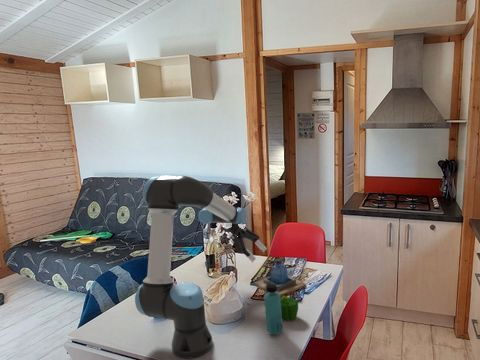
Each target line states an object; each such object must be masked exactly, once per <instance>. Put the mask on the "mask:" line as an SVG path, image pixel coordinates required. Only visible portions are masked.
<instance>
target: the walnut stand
mask: <svg viewBox="0 0 480 360" xmlns="http://www.w3.org/2000/svg"><path fill="white" fill-rule="evenodd" d="M287 276H288V282H285V283H282V284H280V285H276V286H277V291H276V292H277V293H279V294H280V296H282V297H283V295H284V296H286V295H285V294H287V293H289V294H291V293H290V292H292V291H294V292H296V291H295V290H297V291H299V290H301V289H300V288H302V289H304V288H306V287H307V284H306V283H305V282H303V281H301V280H299V279H296V278H295V277H293V276H291V275H289V274H287ZM270 283H273V282H271V276H266V277H264V278H262V279H260V280H257V281H254V283H253V284H254V286H255V287H256V288H258V289H260V290H261V289H262V290H261V291H263V290H264V291H263V292H265V293H266V292H267V291H266V286H267V284H270ZM273 284H275V283H273ZM303 287H304V288H303ZM298 289H299V290H298ZM292 293H293V292H292ZM287 295H288V294H287Z"/></svg>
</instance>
